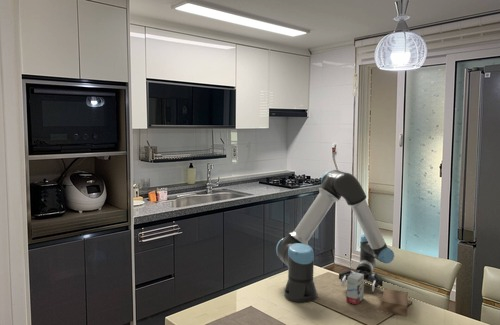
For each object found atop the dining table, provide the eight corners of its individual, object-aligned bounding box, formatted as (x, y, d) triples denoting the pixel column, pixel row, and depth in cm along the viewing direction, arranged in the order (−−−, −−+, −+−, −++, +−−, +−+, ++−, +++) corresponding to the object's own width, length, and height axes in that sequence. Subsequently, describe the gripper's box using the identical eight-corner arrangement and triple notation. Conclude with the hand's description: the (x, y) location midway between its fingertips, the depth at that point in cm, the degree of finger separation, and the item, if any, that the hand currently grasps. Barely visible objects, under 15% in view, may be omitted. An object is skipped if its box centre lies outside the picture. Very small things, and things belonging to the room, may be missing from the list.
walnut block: (381, 312, 165) (381, 301, 164) (384, 299, 178) (384, 288, 177) (406, 317, 161) (407, 305, 160) (407, 302, 174) (407, 292, 173)
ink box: (356, 305, 171) (357, 279, 170) (346, 302, 174) (346, 277, 173) (363, 298, 178) (364, 273, 176) (353, 295, 180) (354, 271, 179)
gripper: (390, 281, 190) (385, 299, 171) (339, 273, 201) (330, 289, 182) (390, 266, 190) (386, 282, 170) (339, 259, 200) (330, 273, 181)
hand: (357, 286), depth 176 cm, fingers open, 13 cm apart
